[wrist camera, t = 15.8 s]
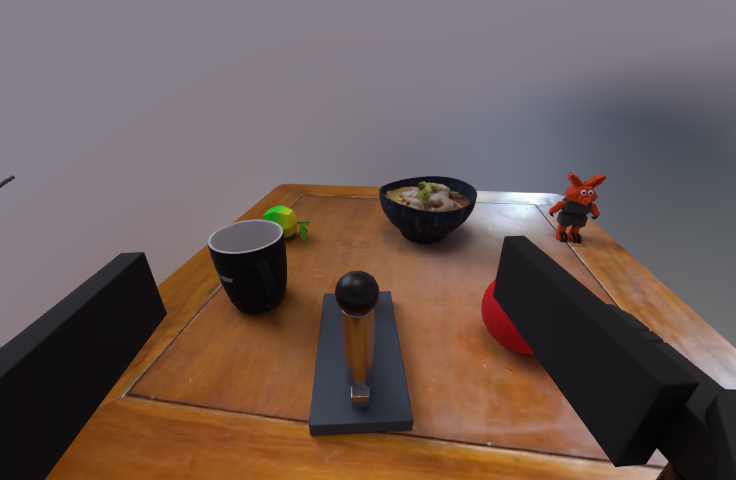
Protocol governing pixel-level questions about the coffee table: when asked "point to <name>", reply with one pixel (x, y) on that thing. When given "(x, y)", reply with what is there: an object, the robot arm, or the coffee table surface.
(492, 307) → the ornament
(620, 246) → the coffee table surface
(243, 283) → the mug
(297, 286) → the coffee table surface
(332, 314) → the grey lever base
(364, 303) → the ball-knob lever
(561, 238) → the toy animal
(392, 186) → the bowl
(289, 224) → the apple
